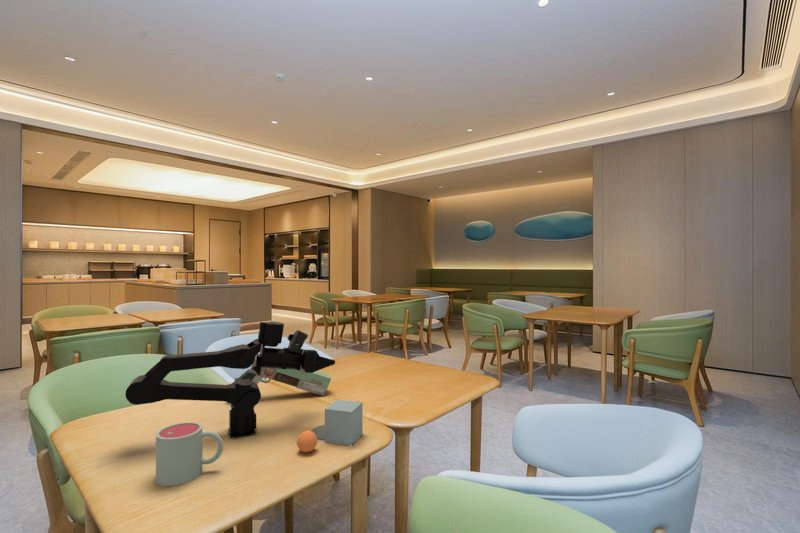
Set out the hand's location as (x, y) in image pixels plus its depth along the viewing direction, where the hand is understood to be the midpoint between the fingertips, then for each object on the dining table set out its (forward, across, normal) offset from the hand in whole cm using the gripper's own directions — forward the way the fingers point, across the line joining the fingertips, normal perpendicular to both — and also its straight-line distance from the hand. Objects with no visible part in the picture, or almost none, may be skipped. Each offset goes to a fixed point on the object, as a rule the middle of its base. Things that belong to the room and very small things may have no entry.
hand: (330, 361), depth 123 cm
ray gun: (-8, +29, +14) cm, 33 cm away
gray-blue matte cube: (+2, -12, +20) cm, 23 cm away
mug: (-34, -15, +26) cm, 45 cm away
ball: (-9, -16, +20) cm, 27 cm away
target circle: (0, -7, +19) cm, 20 cm away
